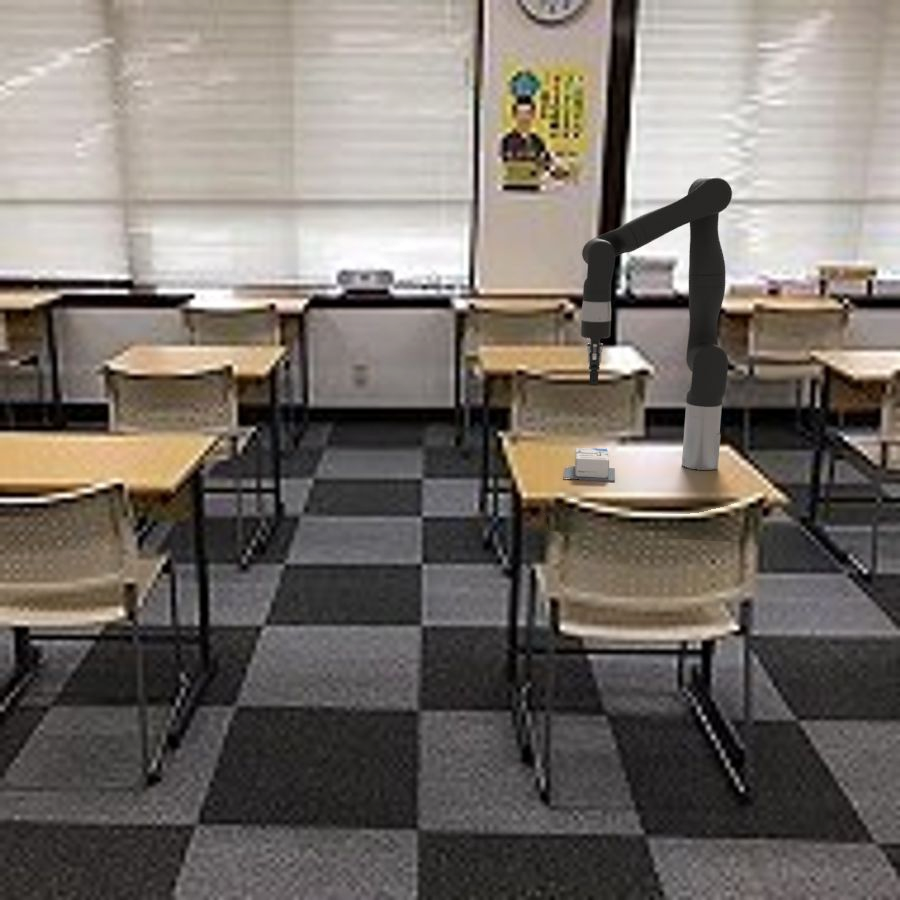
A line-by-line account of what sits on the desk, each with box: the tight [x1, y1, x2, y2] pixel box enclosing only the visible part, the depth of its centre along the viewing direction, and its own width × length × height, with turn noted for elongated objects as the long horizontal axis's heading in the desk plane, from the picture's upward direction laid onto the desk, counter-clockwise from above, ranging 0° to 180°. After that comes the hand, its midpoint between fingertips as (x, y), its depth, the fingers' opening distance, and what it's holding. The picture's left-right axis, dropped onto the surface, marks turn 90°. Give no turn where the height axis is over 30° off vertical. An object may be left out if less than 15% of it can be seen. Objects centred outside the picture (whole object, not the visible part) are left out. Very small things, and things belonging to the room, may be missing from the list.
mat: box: [562, 465, 616, 483], centre depth 271 cm, size 13×12×1 cm
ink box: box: [574, 447, 610, 478], centre depth 272 cm, size 9×5×12 cm
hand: (593, 384), depth 272 cm, fingers closed
